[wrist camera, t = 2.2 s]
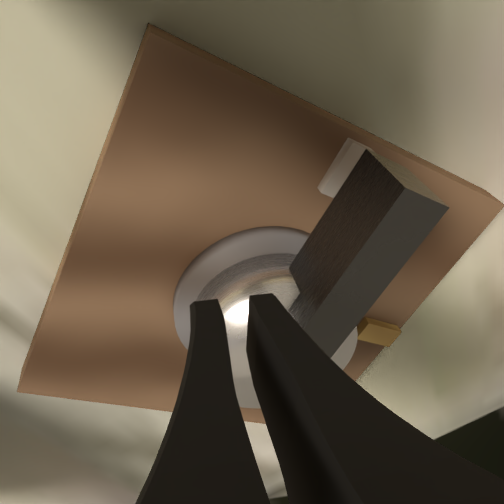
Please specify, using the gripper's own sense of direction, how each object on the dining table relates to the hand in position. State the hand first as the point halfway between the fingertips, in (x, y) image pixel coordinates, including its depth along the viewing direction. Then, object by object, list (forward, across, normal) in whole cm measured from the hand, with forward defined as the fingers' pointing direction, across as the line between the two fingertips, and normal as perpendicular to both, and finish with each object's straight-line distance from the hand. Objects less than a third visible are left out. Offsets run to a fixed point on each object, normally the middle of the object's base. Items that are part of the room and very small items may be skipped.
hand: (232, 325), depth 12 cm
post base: (+9, -3, +6) cm, 12 cm away
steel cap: (+7, -4, +4) cm, 9 cm away
